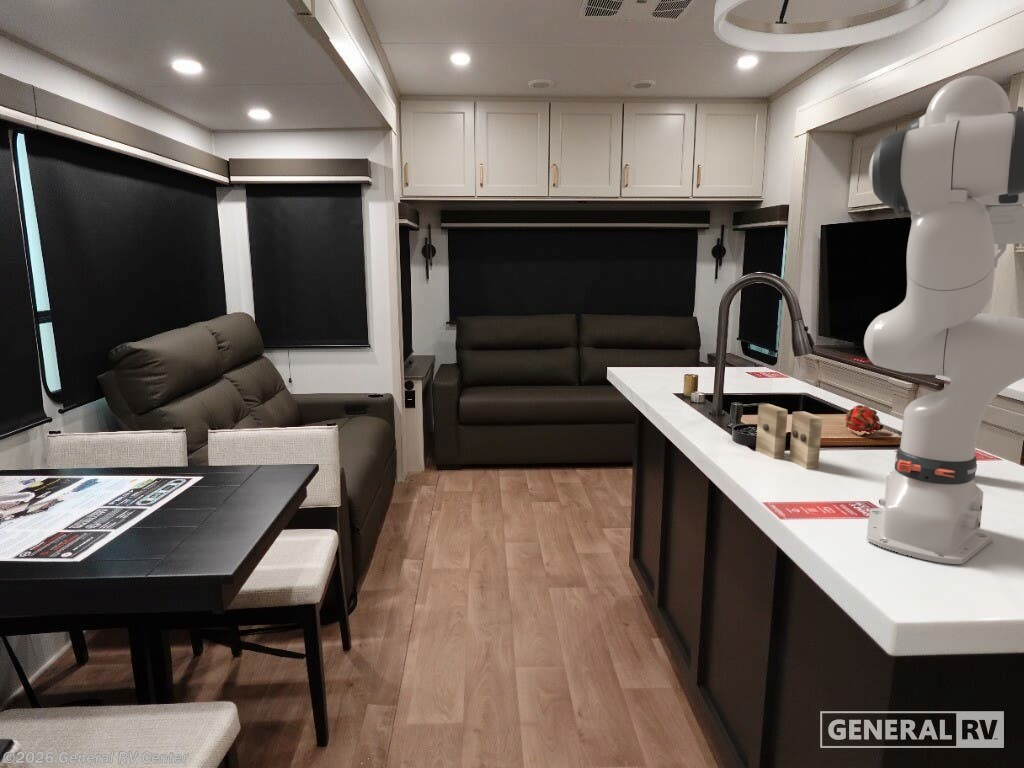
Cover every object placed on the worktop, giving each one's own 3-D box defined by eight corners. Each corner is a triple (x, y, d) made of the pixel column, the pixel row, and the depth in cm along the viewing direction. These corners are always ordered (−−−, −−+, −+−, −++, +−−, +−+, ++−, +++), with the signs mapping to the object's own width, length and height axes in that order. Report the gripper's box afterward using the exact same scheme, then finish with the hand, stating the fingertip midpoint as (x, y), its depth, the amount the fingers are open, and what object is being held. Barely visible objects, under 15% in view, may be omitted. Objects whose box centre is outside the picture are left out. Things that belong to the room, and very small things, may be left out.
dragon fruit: (856, 433, 185) (869, 451, 174) (832, 416, 185) (844, 432, 174) (879, 411, 182) (893, 428, 171) (854, 394, 181) (868, 409, 170)
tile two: (801, 459, 157) (805, 411, 155) (819, 468, 150) (823, 418, 148) (788, 459, 157) (791, 411, 154) (805, 469, 150) (809, 418, 148)
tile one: (766, 449, 165) (769, 403, 163) (785, 457, 159) (788, 409, 157) (754, 450, 164) (757, 404, 162) (772, 458, 158) (775, 411, 156)
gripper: (910, 200, 134) (903, 268, 137) (1036, 193, 122) (1026, 267, 125) (914, 202, 139) (907, 267, 142) (1035, 195, 127) (1025, 267, 130)
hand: (964, 267), depth 133 cm, fingers open, 8 cm apart
